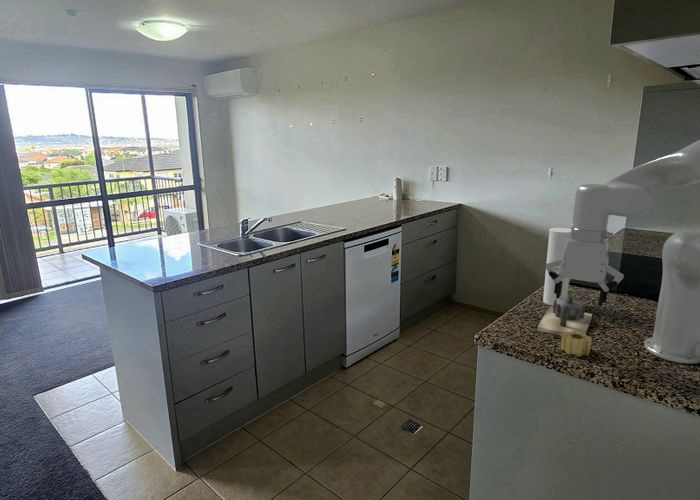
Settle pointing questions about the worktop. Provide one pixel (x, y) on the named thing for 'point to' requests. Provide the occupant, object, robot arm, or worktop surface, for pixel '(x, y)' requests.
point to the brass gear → (576, 343)
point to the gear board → (555, 322)
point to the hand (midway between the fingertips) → (578, 300)
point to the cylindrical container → (555, 253)
